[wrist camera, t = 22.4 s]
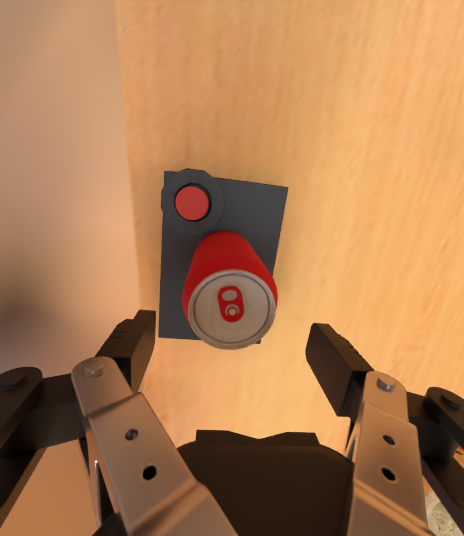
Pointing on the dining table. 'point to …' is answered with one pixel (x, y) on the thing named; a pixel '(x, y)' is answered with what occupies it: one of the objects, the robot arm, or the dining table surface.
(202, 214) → the button
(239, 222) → the grey plate red button
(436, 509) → the bowl
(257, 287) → the beverage can
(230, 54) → the dining table surface
